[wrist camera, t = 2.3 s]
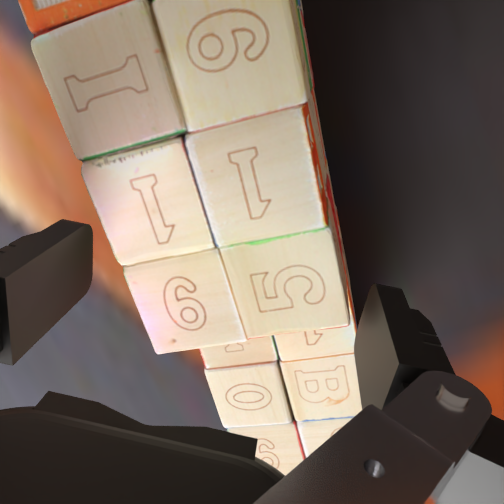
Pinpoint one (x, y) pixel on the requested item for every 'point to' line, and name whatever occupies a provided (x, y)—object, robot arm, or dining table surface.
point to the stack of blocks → (215, 198)
